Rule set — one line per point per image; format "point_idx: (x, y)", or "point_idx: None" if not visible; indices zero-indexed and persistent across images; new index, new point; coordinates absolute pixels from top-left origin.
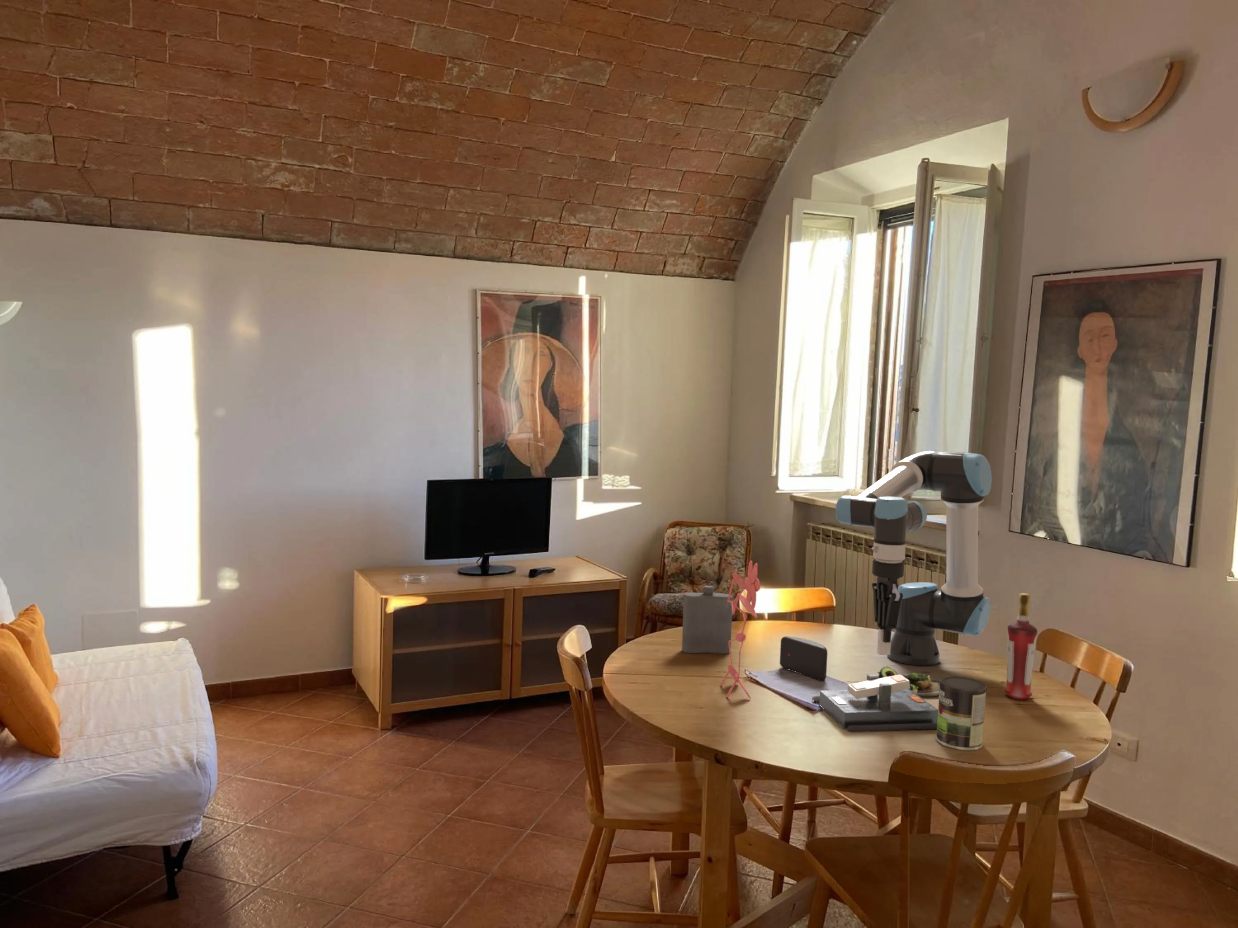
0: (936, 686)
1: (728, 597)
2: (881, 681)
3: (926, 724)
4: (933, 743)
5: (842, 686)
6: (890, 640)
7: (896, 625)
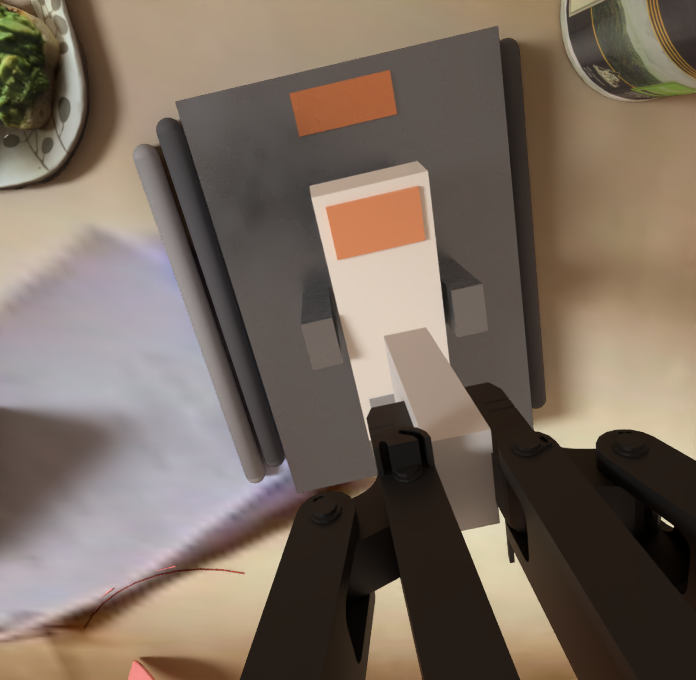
0: None
1: None
2: (385, 309)
3: (521, 110)
4: (654, 124)
5: (31, 351)
6: (500, 389)
7: (673, 450)
